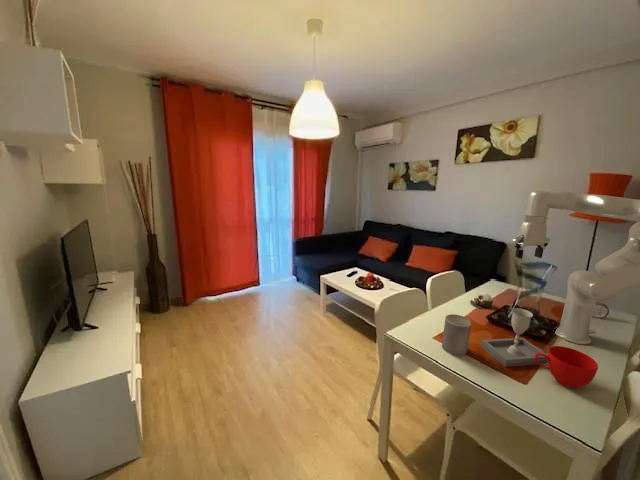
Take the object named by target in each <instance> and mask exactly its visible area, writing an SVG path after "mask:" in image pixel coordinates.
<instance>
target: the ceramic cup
mask: <svg viewBox="0 0 640 480" xmlns="http://www.w3.org/2000/svg"><path fill="white" fill-rule="evenodd" d="M547 355H548V356H547ZM547 355H545V354H543V353H537V354H535V356H534V358H535V361H536V362H537V363H538V364H537V365H539V366H541V367H542V368H544V369H545V370H548V371H549V372H550V373H551V375H552V376H553V378H554V379H555V380H556V382H558V383H559V384H561V385H563V386H565V387H568V388H571V389H579V388H582V387H585V386H587V385H588V384H590V383H591V382H592V381H593V380H594V378H595V377H596V374H597V372H598V368H599V365H598V362H597V361H596V360H595V359H594V358H592V357H591V356H589V355H588V354H586V353H584V352H582V351H579V350H577V349H575V348H572V347H566V346H563V345H562V346H561V345H553V346H551V347H549V348H548V352H547ZM538 356H544V357H546V358H547V360H548V363H547V365H545V364H541V363H540V362H539V361H538V360H537V357H538Z"/></svg>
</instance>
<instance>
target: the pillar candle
mask: <svg viewBox="0 0 640 480" xmlns="http://www.w3.org/2000/svg"><path fill="white" fill-rule="evenodd" d="M471 326H472V322H471V320H470V319H469V318H468V317H465V316H463V315H460V314H446V315H445V319H444V326H443V334H442V342H441V347H442V349H443V351H445V353H448V354H450V355H452V356H459V357H460V356H466V355H467V353H468V348H469V341H470V333H471Z"/></svg>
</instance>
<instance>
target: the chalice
mask: <svg viewBox="0 0 640 480" xmlns="http://www.w3.org/2000/svg"><path fill="white" fill-rule="evenodd" d="M511 313H512V316H511V326H512V329H513V332H514V333H515V334H516V335H515V337H514V338H516V339H515V340H514V342H515V344H514V345H511V346H510V347H509V348H508V349H507V351H508V352H509V353H510V354H512V355H515V356H521V355H522V353H521V349H520V348H519V347H518V346H517V344H518V343H519V341H518V340H519V339H520V338H521V337H520V335H523V334H524V333H525V332H526V331H527V330H528V329H529V327H530V324H531V319H532V317H533V316H534V314H533V313H532V312H531V311H529V310H527V309H523V308H520V307H514V308H513V307H512V309H511Z"/></svg>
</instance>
